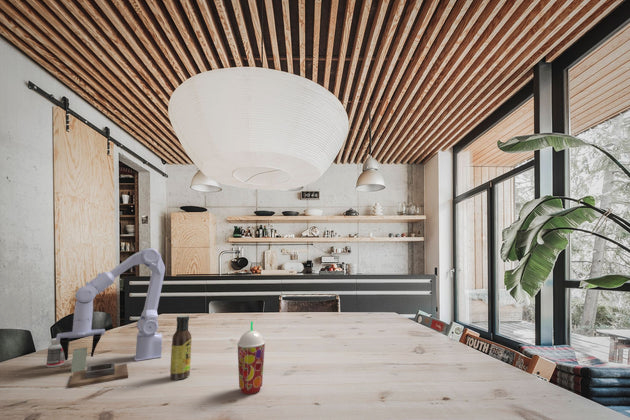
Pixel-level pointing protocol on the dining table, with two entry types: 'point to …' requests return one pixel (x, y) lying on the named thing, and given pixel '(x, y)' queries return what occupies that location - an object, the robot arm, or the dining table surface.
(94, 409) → the dining table surface
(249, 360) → the smoothie
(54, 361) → the pill bottle
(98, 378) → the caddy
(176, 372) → the sauce bottle
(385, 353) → the dining table surface
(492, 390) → the dining table surface
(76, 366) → the peg
